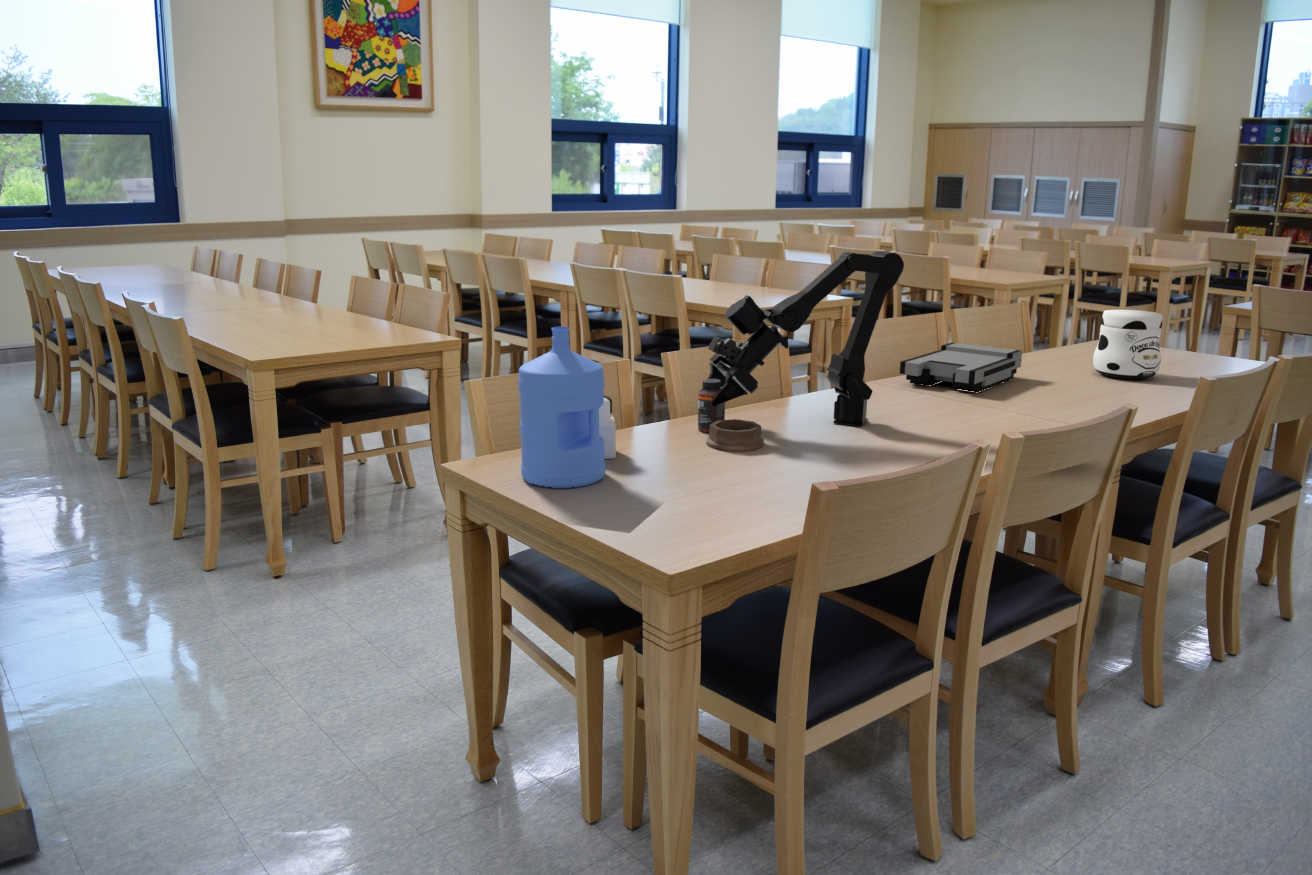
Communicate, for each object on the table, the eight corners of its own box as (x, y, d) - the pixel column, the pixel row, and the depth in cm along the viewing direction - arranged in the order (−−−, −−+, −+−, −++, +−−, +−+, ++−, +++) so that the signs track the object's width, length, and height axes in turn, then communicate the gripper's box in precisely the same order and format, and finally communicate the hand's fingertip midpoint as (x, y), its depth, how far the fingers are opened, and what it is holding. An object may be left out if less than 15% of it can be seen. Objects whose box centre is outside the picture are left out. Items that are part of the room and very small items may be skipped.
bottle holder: (771, 440, 207) (772, 422, 206) (751, 454, 196) (751, 435, 195) (719, 433, 212) (720, 416, 211) (697, 447, 202) (697, 428, 201)
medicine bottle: (579, 450, 199) (578, 393, 196) (614, 449, 200) (614, 392, 197) (579, 459, 192) (578, 400, 189) (615, 459, 193) (615, 400, 190)
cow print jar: (1154, 384, 265) (1163, 319, 260) (1086, 377, 274) (1093, 314, 269) (1161, 374, 279) (1170, 312, 274) (1097, 368, 288) (1104, 307, 283)
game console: (898, 387, 262) (900, 357, 260) (949, 370, 286) (951, 342, 284) (972, 398, 249) (975, 366, 247) (1019, 379, 273) (1022, 350, 270)
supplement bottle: (727, 428, 217) (728, 378, 214) (720, 434, 211) (721, 384, 208) (701, 426, 219) (702, 376, 216) (694, 432, 213) (695, 382, 210)
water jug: (505, 484, 177) (500, 331, 170) (545, 461, 191) (541, 319, 184) (583, 494, 172) (581, 337, 164) (618, 470, 186) (617, 324, 178)
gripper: (719, 317, 219) (671, 367, 219) (745, 330, 201) (692, 384, 201) (751, 351, 222) (704, 400, 223) (779, 366, 205) (728, 419, 205)
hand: (706, 400), depth 213 cm, fingers open, 9 cm apart
